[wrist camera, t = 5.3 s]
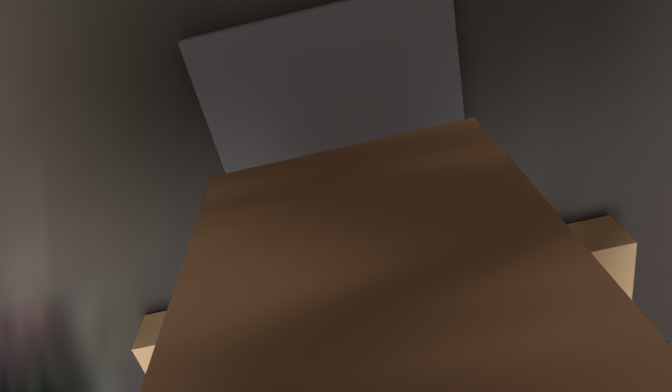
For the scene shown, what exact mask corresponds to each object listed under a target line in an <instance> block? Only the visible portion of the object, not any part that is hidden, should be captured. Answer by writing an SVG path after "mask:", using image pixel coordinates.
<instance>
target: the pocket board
mask: <svg viewBox="0 0 672 392" xmlns="http://www.w3.org/2000/svg"><path fill="white" fill-rule="evenodd" d="M567 225H568V226H569V228H570V229H571V230H572V231H573V232H574V233H575V235H576V236H577V237H578V238H579V239H580V240H581V242H582V243H583V244H584V245H585V246H586V247H587V248H588V250H589V251H590V252H591V253H592V254H593V255H594V257H595V258H596V259H597V260H598V261H599V262H600V264H601V265H602V266H603V267H604V268H605V269H606V271H607V272H608V273H609V274H610V275H611V276H612V278H613V279H614V280H615V281H616V282H617V283H618V285H619V286H620V287H621V288H622V289H623V290H624V292H625V293H626V294H627V295H628V296H629V297H630V298H631V300H632V293H633V282H634V272H635V261H636V250H637V242H636V241H635V240H634V239H633V238H632V237H631V236H630V235H629V234H628V233H627V232H626V231H625V230H624V229H623V228H622V227H621V226H620V225H619V224H618V223H617V222H616V221H615V220H614V219H613V218H612V217H611V216H610V215H607V216H602V217H597V218H593V219H588V220H584V221H579V222H574V223H570V224H567ZM165 314H166V311H162V312H157V313H153V314H148V315H145V316H144V319H143V321H142V324H141V327H140V329H139V332H138V334H137V337H136V340H135V342H134V345H133V348H132V351H133V353H134V355H135V357H136V358H137V360H138V362H139V363H140V365H141V367H142V369H143V370H144V372H145V374H146V371H147V368H148V365H149V362H150V359H151V356H152V353H153V350H154V347H155V344H156V341H157V338H158V335H159V332H160V329H161V326H162V323H163V320H164V317H165Z"/></svg>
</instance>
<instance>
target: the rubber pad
mask: <svg viewBox="0 0 672 392" xmlns="http://www.w3.org/2000/svg"><path fill="white" fill-rule="evenodd" d="M178 46H179V48H180V51H181V54H182V57H183V59H184V62H185V65H186V67H187V70H188V73H189V76H190V78H191V81H192V84H193V86H194V89H195V92H196V95H197V97H198V100H199V103H200V105H201V108H202V111H203V114H204V116H205V119H206V122H207V124H208V127H209V130H210V133H211V135H212V138H213V141H214V143H215V146H216V149H217V152H218V154H219V157H220V160H221V162H222V165H223V168H224V171H225V173H230V172H235V171H239V170H244V169H248V168H252V167H257V166H261V165H266V164H270V163H274V162H279V161H283V160H288V159H292V158H296V157H301V156H305V155H310V154H314V153H318V152H323V151H327V150H332V149H336V148H340V147H345V146H349V145H354V144H358V143H362V142H367V141H371V140H376V139H380V138H384V137H389V136H393V135H398V134H402V133H406V132H411V131H415V130H420V129H424V128H428V127H433V126H437V125H442V124H446V123H450V122H455V121H459V120H464V119H465V115H464V105H463V95H462V84H461V74H460V64H459V54H458V44H457V34H456V23H455V13H454V3H453V0H341V1H337V2H333V3H328V4H324V5H320V6H316V7H312V8H308V9H304V10H300V11H295V12H291V13H287V14H283V15H279V16H275V17H271V18H267V19H262V20H258V21H254V22H250V23H246V24H242V25H238V26H234V27H230V28H225V29H221V30H217V31H213V32H209V33H205V34H201V35H197V36H192V37H188V38H184V39H181V40H180V41H179V42H178Z"/></svg>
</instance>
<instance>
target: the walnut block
mask: <svg viewBox="0 0 672 392" xmlns="http://www.w3.org/2000/svg"><path fill="white" fill-rule="evenodd" d="M140 392H672V346H671V345H670V344H669V343H668V341H667V340H666V339H665V338H664V337H663V336H662V335H661V333H660V332H659V331H658V330H657V329H656V328H655V326H654V325H653V324H652V323H651V322H650V321H649V319H648V318H647V317H646V316H645V315H644V314H643V312H642V311H641V310H640V309H639V308H638V307H637V305H636V304H635V303H634V302H633V301H632V300H631V298H630V297H629V296H628V295H627V294H626V293H625V292H624V290H623V289H622V288H621V287H620V286H619V285H618V283H617V282H616V281H615V280H614V279H613V278H612V276H611V275H610V274H609V273H608V272H607V271H606V269H605V268H604V267H603V266H602V265H601V264H600V262H599V261H598V260H597V259H596V258H595V257H594V255H593V254H592V253H591V252H590V251H589V250H588V248H587V247H586V246H585V245H584V244H583V243H582V242H581V240H580V239H579V238H578V237H577V236H576V235H575V233H574V232H573V231H572V230H571V229H570V228H569V226H568V225H567V224H566V223H565V222H564V221H563V219H562V218H561V217H560V216H559V215H558V214H557V212H556V211H555V210H554V209H553V208H552V207H551V205H550V204H549V203H548V202H547V201H546V200H545V199H544V197H543V196H542V195H541V194H540V193H539V192H538V190H537V189H536V188H535V187H534V186H533V185H532V183H531V182H530V181H529V180H528V179H527V178H526V176H525V175H524V174H523V173H522V172H521V171H520V169H519V168H518V167H517V166H516V165H515V164H514V162H513V161H512V160H511V159H510V158H509V157H508V155H507V154H506V153H505V152H504V151H503V150H502V149H501V147H500V146H499V145H498V144H497V143H496V142H495V140H494V139H493V138H492V137H491V136H490V135H489V133H488V132H487V131H486V130H485V129H484V128H483V126H482V125H481V124H480V123H479V122H478V121H477V119H476V118H475V117H472V118H468V119H464V120H459V121H455V122H450V123H446V124H442V125H437V126H433V127H428V128H424V129H420V130H415V131H411V132H406V133H402V134H398V135H393V136H389V137H384V138H380V139H376V140H371V141H367V142H362V143H358V144H354V145H349V146H345V147H340V148H336V149H332V150H327V151H323V152H318V153H314V154H310V155H305V156H301V157H296V158H292V159H288V160H283V161H279V162H274V163H270V164H266V165H261V166H257V167H252V168H248V169H244V170H239V171H235V172H230V173H226V174H221V175H217V176H213V177H211V180H210V183H209V186H208V189H207V192H206V195H205V198H204V201H203V204H202V207H201V210H200V213H199V216H198V219H197V222H196V225H195V228H194V231H193V233H192V236H191V239H190V242H189V245H188V248H187V251H186V254H185V257H184V260H183V263H182V266H181V269H180V272H179V275H178V278H177V281H176V284H175V287H174V290H173V293H172V296H171V299H170V302H169V305H168V308H167V311H166V314H165V317H164V320H163V323H162V326H161V329H160V332H159V335H158V338H157V341H156V344H155V347H154V350H153V353H152V356H151V359H150V362H149V365H148V368H147V371H146V374H145V377H144V380H143V383H142V386H141V389H140Z"/></svg>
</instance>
